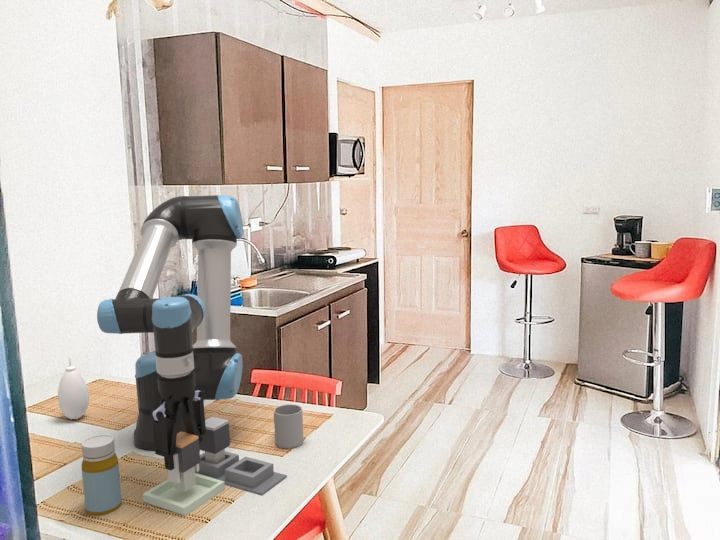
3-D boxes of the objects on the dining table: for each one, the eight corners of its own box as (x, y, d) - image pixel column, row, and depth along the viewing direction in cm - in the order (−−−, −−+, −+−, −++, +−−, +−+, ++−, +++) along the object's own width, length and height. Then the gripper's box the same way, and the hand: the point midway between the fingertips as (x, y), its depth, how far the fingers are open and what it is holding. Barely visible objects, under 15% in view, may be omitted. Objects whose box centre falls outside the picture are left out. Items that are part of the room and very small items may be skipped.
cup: (284, 451, 155) (283, 417, 154) (264, 438, 163) (262, 406, 161) (309, 443, 159) (307, 410, 158) (288, 431, 167) (286, 399, 166)
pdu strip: (149, 464, 150) (145, 416, 148) (176, 449, 157) (173, 403, 156) (262, 497, 133) (259, 444, 131) (287, 479, 141) (284, 428, 139)
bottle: (92, 500, 134) (86, 434, 131) (126, 498, 134) (120, 433, 132) (81, 518, 127) (74, 449, 124) (116, 516, 127) (110, 447, 125)
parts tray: (143, 504, 132) (142, 494, 131) (184, 479, 142) (183, 469, 142) (185, 518, 126) (184, 508, 126) (225, 491, 136) (224, 481, 136)
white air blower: (96, 414, 182) (90, 354, 179) (79, 424, 174) (73, 362, 171) (71, 412, 183) (65, 353, 180) (54, 423, 175) (48, 361, 172)
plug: (167, 489, 133) (163, 440, 131) (184, 478, 138) (181, 431, 136) (185, 494, 131) (181, 445, 129) (201, 483, 135) (198, 436, 133)
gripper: (155, 389, 120) (165, 500, 124) (219, 361, 136) (225, 461, 140) (128, 383, 124) (138, 491, 128) (193, 357, 139) (200, 454, 143)
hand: (184, 475), depth 134 cm, fingers closed on plug, 5 cm apart
